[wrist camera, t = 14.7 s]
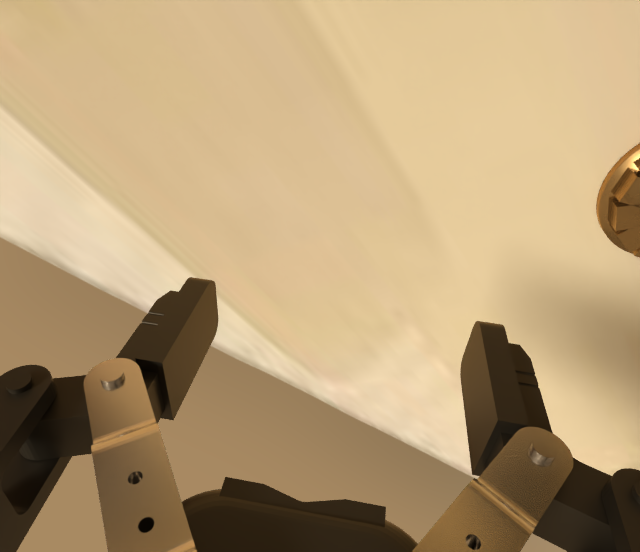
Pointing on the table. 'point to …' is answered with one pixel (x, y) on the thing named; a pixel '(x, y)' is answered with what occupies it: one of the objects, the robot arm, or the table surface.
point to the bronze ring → (622, 203)
